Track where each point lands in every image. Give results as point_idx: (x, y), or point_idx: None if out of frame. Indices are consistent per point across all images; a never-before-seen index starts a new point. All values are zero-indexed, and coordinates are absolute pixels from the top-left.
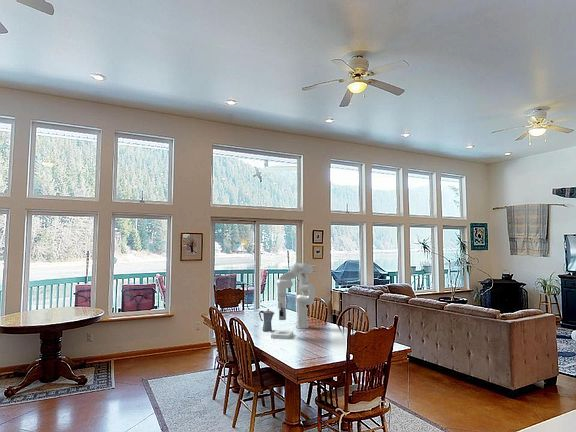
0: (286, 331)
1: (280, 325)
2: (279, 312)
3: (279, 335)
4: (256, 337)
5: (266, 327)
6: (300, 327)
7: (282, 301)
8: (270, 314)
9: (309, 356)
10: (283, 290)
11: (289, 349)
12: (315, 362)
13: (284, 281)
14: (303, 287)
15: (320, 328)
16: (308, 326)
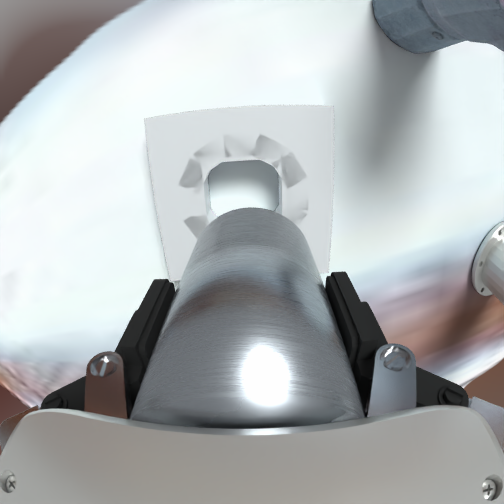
0: (304, 221)
1: None
2: (170, 312)
3: (156, 200)
4: (143, 5)
5: (392, 4)
6: (478, 260)
7: None
8: (492, 14)
9: (22, 374)
10: None
11: (22, 314)
12: (7, 382)
13: None
14: None
15: (459, 344)
16: (488, 295)
